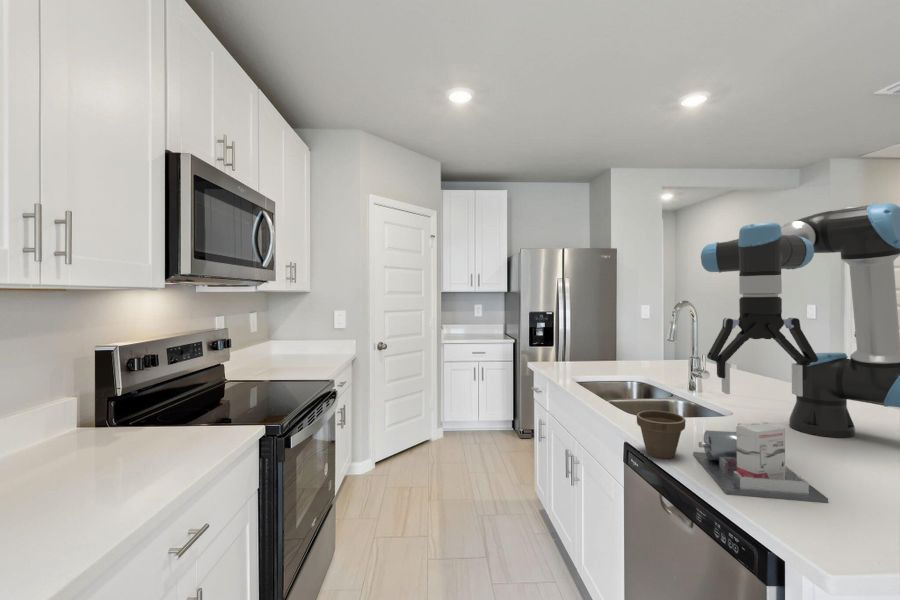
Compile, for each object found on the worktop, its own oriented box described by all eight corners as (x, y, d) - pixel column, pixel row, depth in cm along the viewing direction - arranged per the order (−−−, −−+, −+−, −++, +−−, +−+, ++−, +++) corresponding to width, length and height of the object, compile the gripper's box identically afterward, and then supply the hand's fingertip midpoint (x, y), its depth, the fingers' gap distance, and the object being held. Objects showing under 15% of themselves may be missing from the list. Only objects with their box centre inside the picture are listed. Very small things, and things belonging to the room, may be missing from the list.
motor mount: (773, 460, 110) (773, 421, 110) (828, 502, 88) (828, 454, 88) (693, 455, 114) (693, 417, 114) (726, 494, 92) (725, 447, 92)
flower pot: (683, 466, 107) (683, 424, 107) (633, 457, 113) (632, 418, 113) (687, 451, 117) (687, 413, 117) (640, 444, 123) (640, 408, 123)
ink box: (755, 487, 93) (755, 431, 93) (734, 478, 98) (734, 424, 98) (786, 482, 96) (786, 427, 96) (764, 473, 100) (764, 421, 100)
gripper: (817, 294, 97) (818, 391, 97) (691, 296, 103) (692, 388, 103) (838, 294, 90) (839, 400, 90) (701, 297, 96) (702, 395, 96)
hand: (760, 394), depth 97 cm, fingers open, 13 cm apart
